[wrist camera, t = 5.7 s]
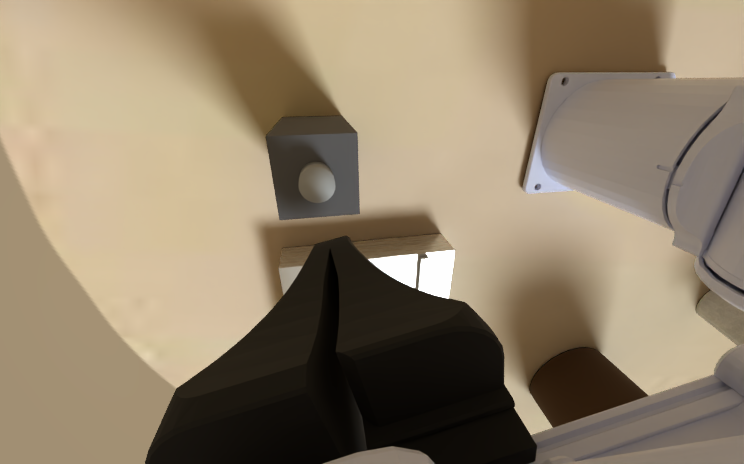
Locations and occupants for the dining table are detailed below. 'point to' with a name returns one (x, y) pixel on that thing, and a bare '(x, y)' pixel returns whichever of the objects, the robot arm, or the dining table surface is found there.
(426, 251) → the socket
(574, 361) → the olive oil
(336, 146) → the plug
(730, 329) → the house plant
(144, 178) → the dining table surface
